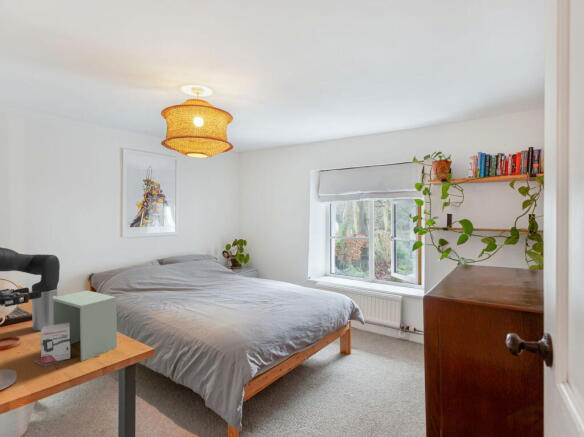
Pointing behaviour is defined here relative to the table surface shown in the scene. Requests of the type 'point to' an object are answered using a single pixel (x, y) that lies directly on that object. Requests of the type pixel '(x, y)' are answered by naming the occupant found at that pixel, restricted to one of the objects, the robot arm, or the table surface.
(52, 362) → the coaster
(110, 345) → the cubby
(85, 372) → the table surface
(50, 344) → the ink box
